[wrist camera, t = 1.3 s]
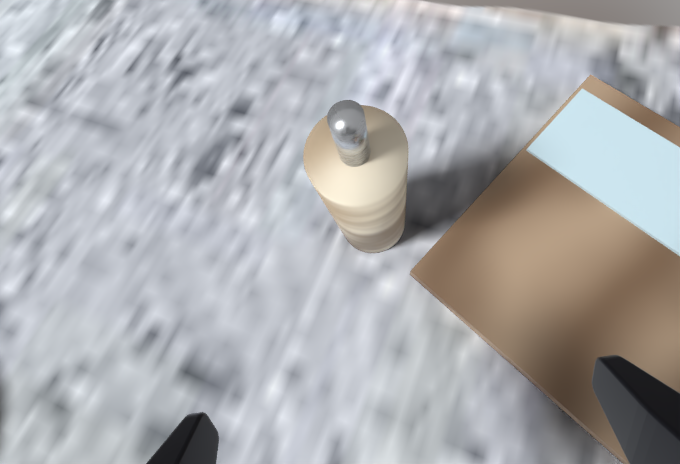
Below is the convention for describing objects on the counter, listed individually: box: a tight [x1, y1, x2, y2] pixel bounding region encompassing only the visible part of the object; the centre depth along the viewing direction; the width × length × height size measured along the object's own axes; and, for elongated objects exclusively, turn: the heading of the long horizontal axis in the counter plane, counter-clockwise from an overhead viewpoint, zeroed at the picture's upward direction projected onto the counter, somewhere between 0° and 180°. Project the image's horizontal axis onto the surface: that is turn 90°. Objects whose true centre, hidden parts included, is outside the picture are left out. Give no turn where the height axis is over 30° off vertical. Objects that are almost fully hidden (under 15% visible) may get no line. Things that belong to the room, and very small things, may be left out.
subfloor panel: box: [410, 75, 680, 464], centre depth 20 cm, size 19×16×2 cm
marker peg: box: [303, 100, 408, 253], centre depth 18 cm, size 4×4×12 cm
